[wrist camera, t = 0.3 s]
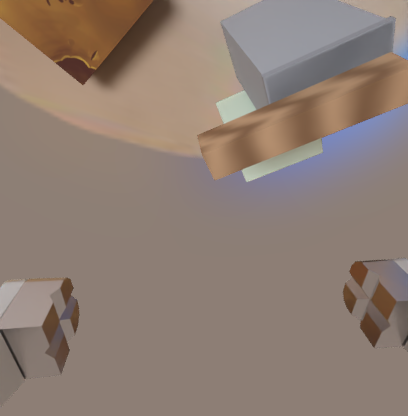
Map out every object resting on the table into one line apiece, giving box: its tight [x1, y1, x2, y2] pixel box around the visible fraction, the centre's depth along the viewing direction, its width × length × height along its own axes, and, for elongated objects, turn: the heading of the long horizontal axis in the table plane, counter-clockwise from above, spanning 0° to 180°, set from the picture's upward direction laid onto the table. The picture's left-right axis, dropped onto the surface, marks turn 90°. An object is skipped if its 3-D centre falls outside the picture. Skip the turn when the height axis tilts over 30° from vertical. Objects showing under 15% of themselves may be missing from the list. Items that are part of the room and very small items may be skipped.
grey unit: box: [220, 0, 396, 110], centre depth 41 cm, size 13×10×26 cm
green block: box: [216, 90, 323, 182], centre depth 53 cm, size 14×8×17 cm, turn 111°
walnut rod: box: [197, 52, 408, 180], centre depth 31 cm, size 22×4×4 cm, turn 111°
